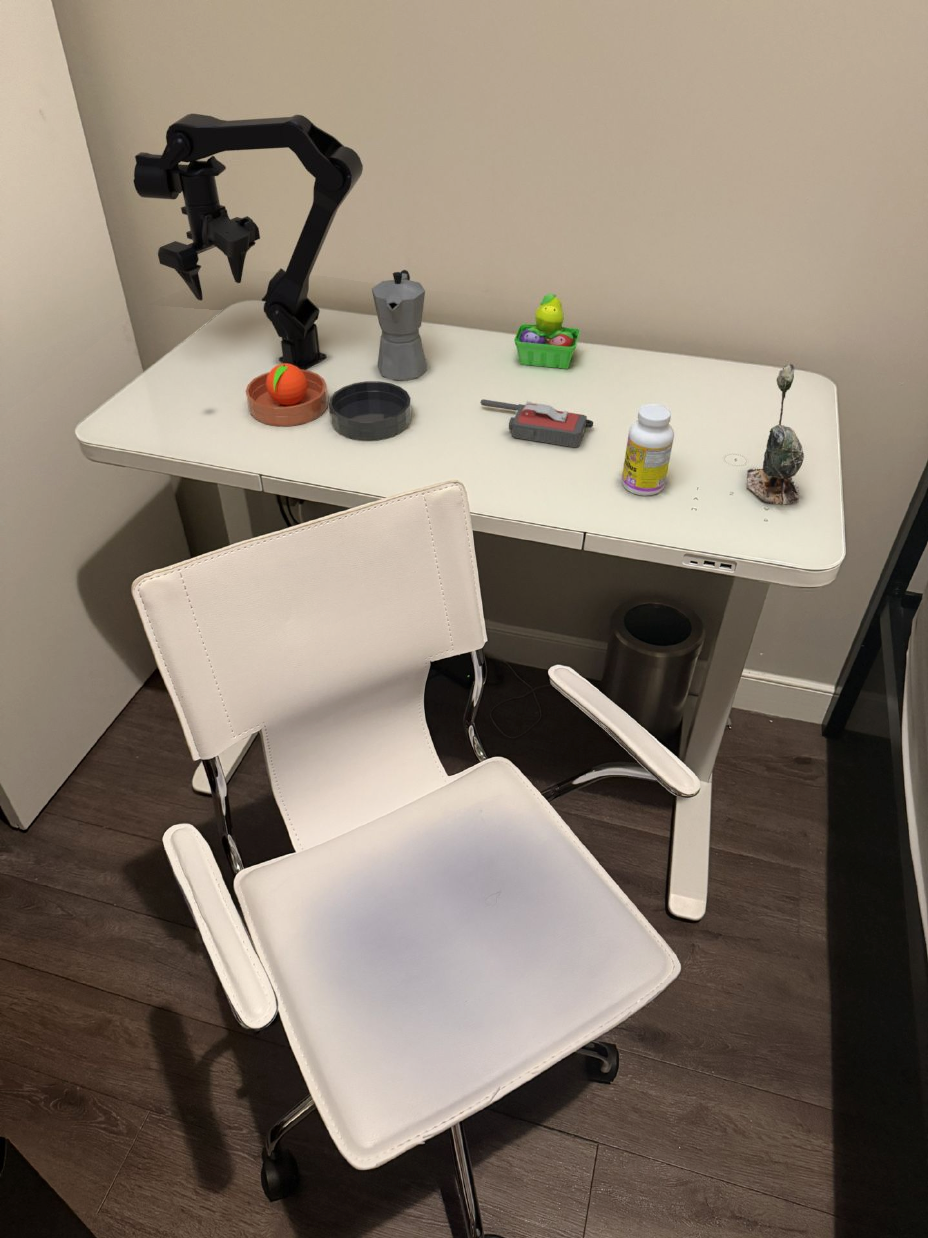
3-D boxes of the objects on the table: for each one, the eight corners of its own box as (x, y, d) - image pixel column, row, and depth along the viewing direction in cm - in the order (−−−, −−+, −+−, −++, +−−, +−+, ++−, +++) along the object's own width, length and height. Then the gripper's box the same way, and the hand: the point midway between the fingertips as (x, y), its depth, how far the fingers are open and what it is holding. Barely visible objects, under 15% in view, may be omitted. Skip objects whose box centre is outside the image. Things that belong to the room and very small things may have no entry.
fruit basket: (512, 366, 165) (514, 308, 157) (520, 345, 172) (523, 287, 164) (573, 373, 163) (578, 314, 156) (579, 351, 170) (584, 293, 162)
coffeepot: (422, 388, 160) (419, 289, 147) (370, 385, 160) (362, 286, 148) (433, 348, 171) (431, 253, 158) (385, 345, 171) (379, 251, 159)
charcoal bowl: (366, 391, 159) (365, 373, 156) (427, 415, 153) (426, 396, 150) (314, 424, 151) (312, 405, 148) (376, 450, 145) (374, 431, 142)
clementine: (296, 418, 151) (291, 380, 146) (259, 412, 153) (252, 374, 148) (316, 395, 157) (311, 358, 152) (280, 390, 158) (274, 352, 153)
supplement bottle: (617, 473, 140) (627, 400, 131) (658, 471, 140) (671, 398, 131) (626, 498, 135) (637, 424, 126) (669, 496, 135) (683, 422, 127)
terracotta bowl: (288, 379, 162) (285, 361, 159) (344, 402, 156) (342, 383, 154) (232, 410, 154) (229, 392, 151) (289, 435, 148) (286, 416, 146)
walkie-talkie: (595, 423, 151) (482, 405, 155) (598, 400, 148) (482, 382, 152) (584, 451, 145) (467, 431, 149) (587, 427, 142) (467, 407, 146)
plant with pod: (742, 509, 133) (773, 388, 119) (745, 468, 141) (776, 350, 127) (798, 518, 131) (837, 396, 118) (799, 476, 139) (835, 357, 125)
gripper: (191, 227, 142) (210, 320, 152) (275, 194, 153) (287, 284, 163) (145, 212, 146) (167, 304, 157) (230, 182, 157) (245, 270, 168)
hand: (219, 290), depth 161 cm, fingers open, 9 cm apart
